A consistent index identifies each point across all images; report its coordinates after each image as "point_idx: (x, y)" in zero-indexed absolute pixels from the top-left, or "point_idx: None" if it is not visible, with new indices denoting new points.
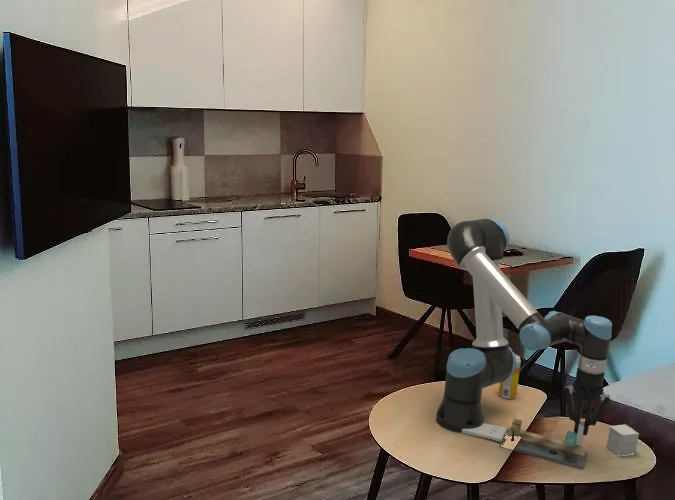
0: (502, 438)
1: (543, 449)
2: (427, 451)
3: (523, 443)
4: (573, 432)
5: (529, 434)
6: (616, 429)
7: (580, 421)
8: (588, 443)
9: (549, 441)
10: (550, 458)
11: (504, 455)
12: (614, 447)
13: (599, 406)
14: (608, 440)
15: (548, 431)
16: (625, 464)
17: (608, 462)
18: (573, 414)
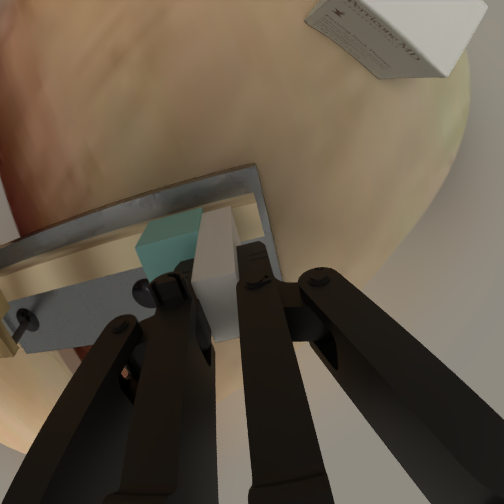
0: (7, 329)
1: (113, 298)
2: (11, 428)
3: (49, 307)
4: (173, 247)
5: (29, 288)
6: (396, 17)
7: (198, 289)
8: (218, 43)
9: (102, 274)
10: None
11: (71, 376)
12: (359, 51)
13: (418, 481)
14: (321, 15)
15: (34, 97)
16: (411, 129)
17: (354, 162)
18: (132, 349)
